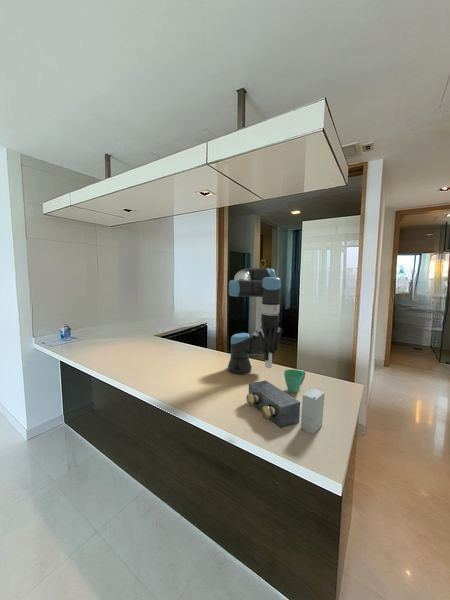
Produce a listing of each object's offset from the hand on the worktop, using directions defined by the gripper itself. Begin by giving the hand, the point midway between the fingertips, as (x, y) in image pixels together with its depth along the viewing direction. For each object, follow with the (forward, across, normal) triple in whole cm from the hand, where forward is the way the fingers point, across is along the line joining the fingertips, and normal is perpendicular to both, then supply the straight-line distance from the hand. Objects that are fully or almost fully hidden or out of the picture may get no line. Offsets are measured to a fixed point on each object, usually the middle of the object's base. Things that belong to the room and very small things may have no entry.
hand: (268, 366), depth 114 cm
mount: (+22, +3, 0) cm, 22 cm away
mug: (+22, +28, +12) cm, 38 cm away
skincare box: (+22, +10, -17) cm, 29 cm away
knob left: (+20, +1, +6) cm, 20 cm away
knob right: (+19, +1, -6) cm, 20 cm away
